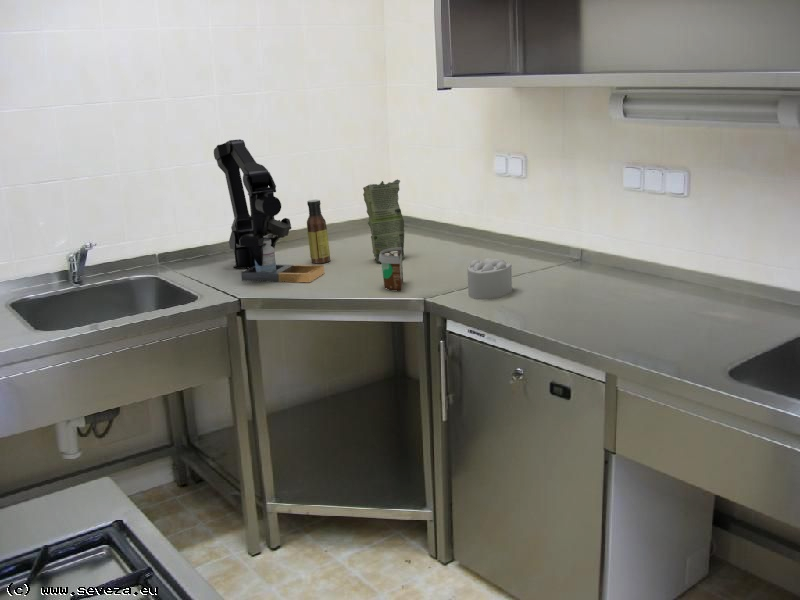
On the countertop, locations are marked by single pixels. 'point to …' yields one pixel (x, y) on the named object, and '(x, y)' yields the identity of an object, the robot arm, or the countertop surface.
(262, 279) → the metal frame
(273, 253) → the pill bottle
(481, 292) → the lumpy-topped squat cylinder
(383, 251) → the food container
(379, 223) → the pouch
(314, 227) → the sauce bottle
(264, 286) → the countertop surface
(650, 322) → the countertop surface
